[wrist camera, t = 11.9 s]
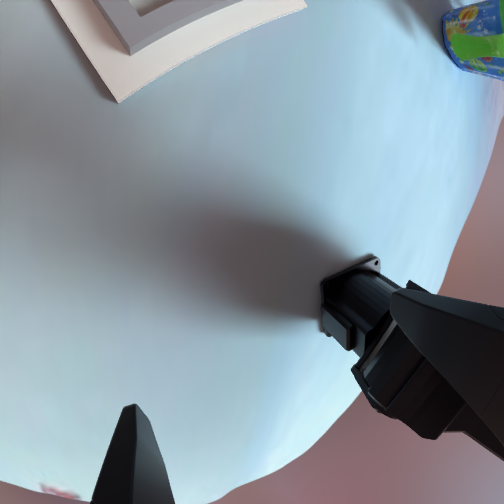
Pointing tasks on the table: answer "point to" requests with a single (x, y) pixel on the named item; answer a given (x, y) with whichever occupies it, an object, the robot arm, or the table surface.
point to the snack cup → (477, 37)
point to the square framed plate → (158, 33)
